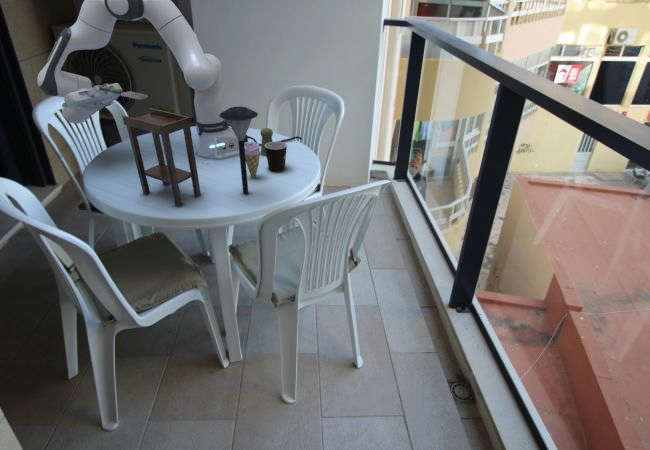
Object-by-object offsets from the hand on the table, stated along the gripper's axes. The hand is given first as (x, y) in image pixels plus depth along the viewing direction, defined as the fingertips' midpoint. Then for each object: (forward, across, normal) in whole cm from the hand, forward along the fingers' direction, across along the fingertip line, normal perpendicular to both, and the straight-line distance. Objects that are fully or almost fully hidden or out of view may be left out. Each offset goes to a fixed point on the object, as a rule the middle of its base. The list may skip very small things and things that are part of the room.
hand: (103, 86), depth 139 cm
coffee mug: (+29, +33, +53) cm, 69 cm away
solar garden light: (+32, +8, +54) cm, 63 cm away
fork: (+7, 0, +5) cm, 9 cm away
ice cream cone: (+26, +20, +51) cm, 61 cm away
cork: (+18, +43, +46) cm, 66 cm away
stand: (+14, -6, +44) cm, 46 cm away
